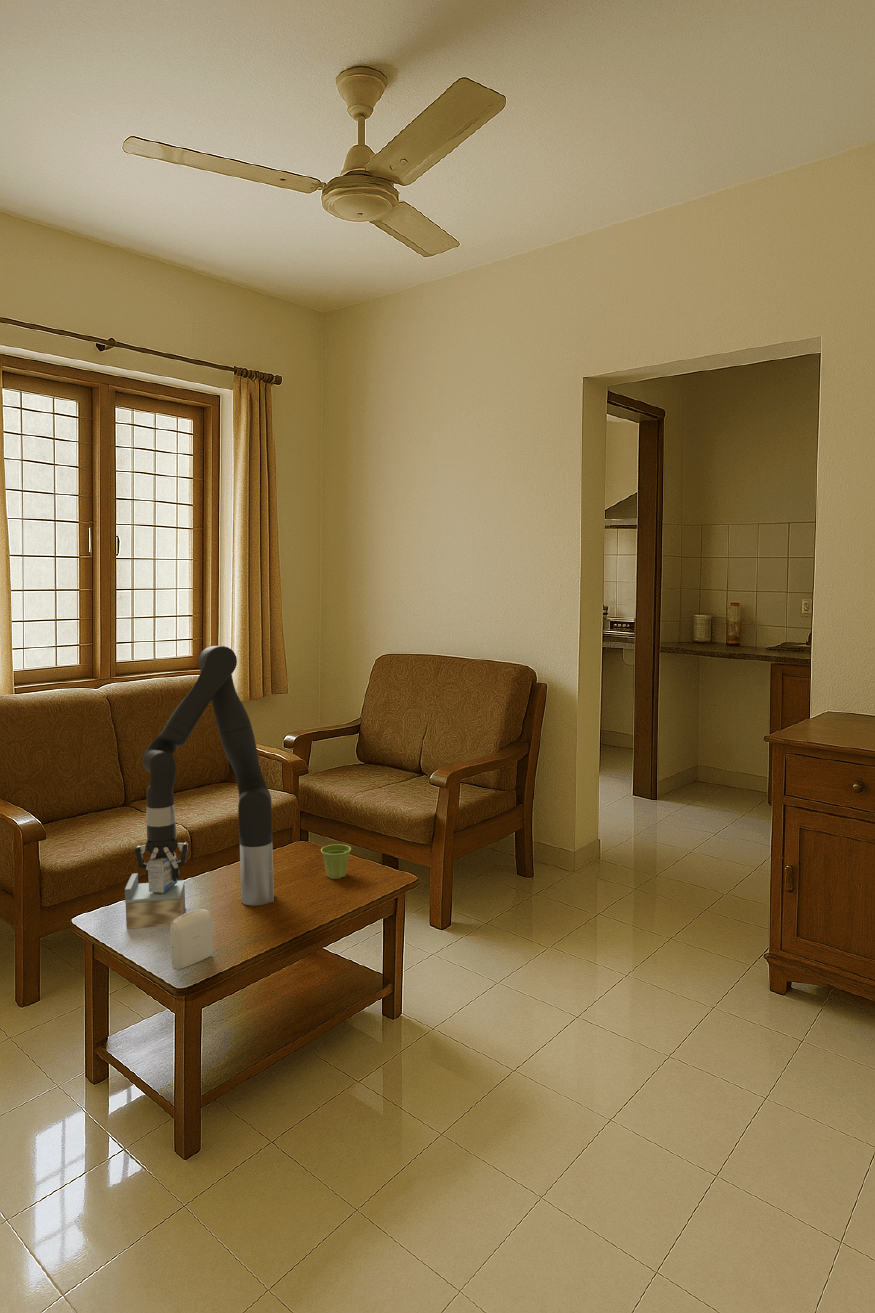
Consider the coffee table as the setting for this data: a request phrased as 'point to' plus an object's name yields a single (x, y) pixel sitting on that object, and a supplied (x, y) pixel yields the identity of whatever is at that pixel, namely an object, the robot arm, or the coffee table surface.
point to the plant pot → (336, 860)
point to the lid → (142, 894)
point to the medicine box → (160, 875)
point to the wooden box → (154, 912)
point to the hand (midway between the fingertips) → (163, 881)
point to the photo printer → (191, 938)
